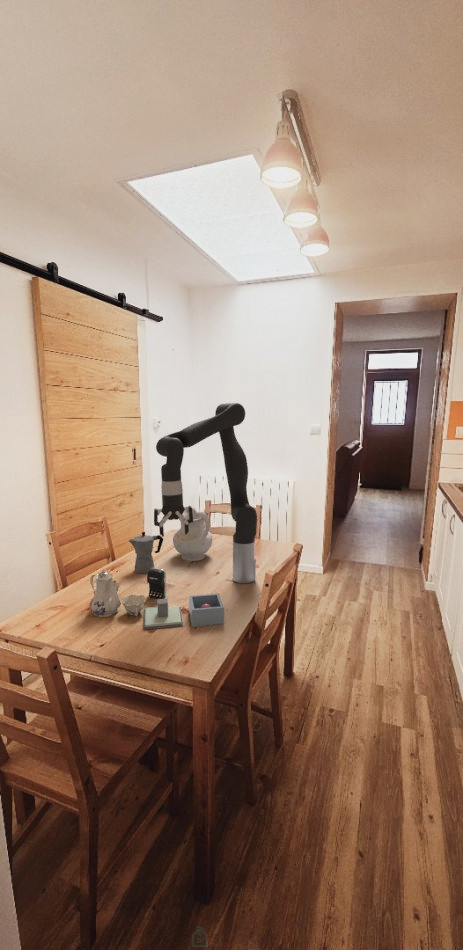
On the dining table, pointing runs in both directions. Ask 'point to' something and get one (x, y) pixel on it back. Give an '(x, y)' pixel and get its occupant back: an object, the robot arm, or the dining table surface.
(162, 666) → the dining table surface
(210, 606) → the plum
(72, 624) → the dining table surface
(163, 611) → the cover
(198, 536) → the ceramic pitcher
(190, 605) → the square storage bin
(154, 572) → the black battery charger
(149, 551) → the coffeepot
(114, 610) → the chinaware
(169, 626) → the mat
